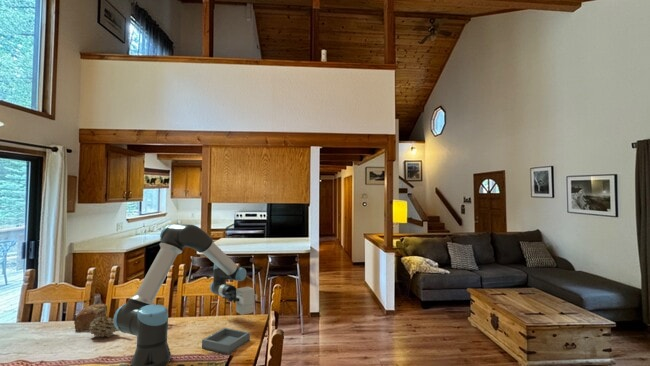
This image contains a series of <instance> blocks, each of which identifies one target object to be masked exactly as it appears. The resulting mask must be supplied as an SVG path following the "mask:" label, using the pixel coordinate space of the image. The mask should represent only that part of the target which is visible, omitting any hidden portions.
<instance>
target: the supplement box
mask: <svg viewBox="0 0 650 366" xmlns="http://www.w3.org/2000/svg"><path fill="white" fill-rule="evenodd" d="M254 294H255V288H253V287H251V286H248V285H247V286H244V287H240V288H239V287H238V288H236V296H239V297H242V298H244V304H242V303H239V302H237V301H236V302H235V312H236V313H238V314H239V315H241V316H244V315H247V314H251V313H255V300H254Z"/></svg>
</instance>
